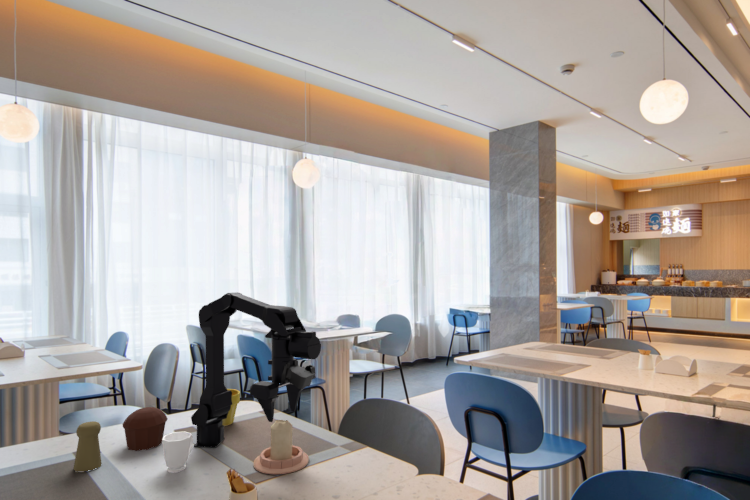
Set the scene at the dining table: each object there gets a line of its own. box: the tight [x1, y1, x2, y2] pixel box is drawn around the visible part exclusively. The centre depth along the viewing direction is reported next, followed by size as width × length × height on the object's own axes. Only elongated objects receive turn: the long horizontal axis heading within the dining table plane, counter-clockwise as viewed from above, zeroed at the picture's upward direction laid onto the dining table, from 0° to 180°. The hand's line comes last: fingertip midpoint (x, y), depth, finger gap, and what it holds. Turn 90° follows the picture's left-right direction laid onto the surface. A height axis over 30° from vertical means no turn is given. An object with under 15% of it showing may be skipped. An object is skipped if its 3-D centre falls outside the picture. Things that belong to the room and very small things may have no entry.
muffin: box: [122, 406, 168, 452], centre depth 127 cm, size 12×11×10 cm
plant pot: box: [222, 388, 241, 427], centre depth 145 cm, size 10×10×10 cm
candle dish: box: [253, 444, 310, 475], centre depth 116 cm, size 14×14×2 cm
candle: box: [270, 419, 293, 460], centre depth 116 cm, size 6×6×10 cm
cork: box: [73, 420, 103, 471], centre depth 113 cm, size 6×6×11 cm
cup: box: [161, 430, 194, 474], centre depth 113 cm, size 7×10×8 cm
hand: (282, 416), depth 116 cm, fingers open, 9 cm apart
